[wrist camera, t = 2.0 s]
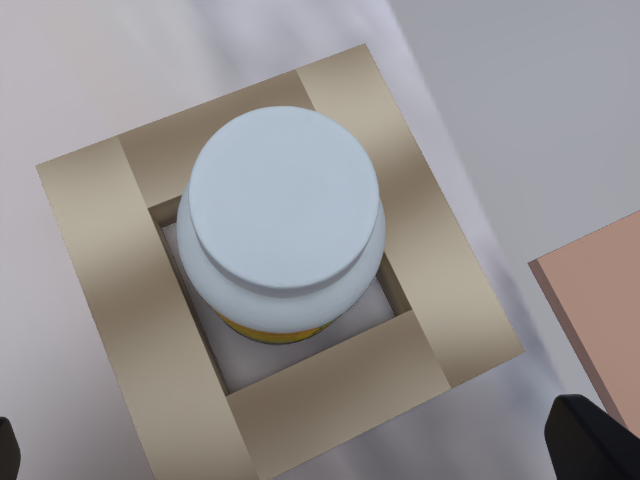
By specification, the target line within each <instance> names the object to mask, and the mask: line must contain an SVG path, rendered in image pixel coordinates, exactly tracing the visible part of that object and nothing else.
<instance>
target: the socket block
mask: <svg viewBox="0 0 640 480" xmlns="http://www.w3.org/2000/svg"><path fill="white" fill-rule="evenodd" d="M274 106H294V107H300V108H305V109H309V110H313V111H315V112H318V113H321V114H323V115H325V116H327V117H329V118H331V119H333V120H334V121H336V122H338V123H339V124H340V125H342V126H343V127H344V128H346V129H347V130H348V131H349V132H350V133H351V134H352V135H353V136H354V137H355V138H356V139H357V140H358V141H359V142H360V144H361V145H362V146H363V148H364V149H365V151H366V152H367V154H368V156H369V157H370V160H371V162H372V164H373V167H374V170H375V172H376V176H377V181H378V186H379V196H380V199H381V202H382V205H383V210H384V214H385V223H386V238H385V247H384V252H383V256H382V259H381V262H380V265H379V268H378V271H377V273H376V276H377V278H378V280H379V282H380V285H381V287H382V289H383V291H384V293H385V295H386V297H387V299H388V301H389V303H390V305H391V307H392V309H393V312H394V314H395V316H396V317H395V318H393V319H390V320H388V321H386V322H384V323H382V324H380V325H378V326H375V327H373V328H371V329H369V330H367V331H365V332H363V333H360V334H358V335H356V336H354V337H352V338H350V339H348V340H345V341H343V342H341V343H339V344H337V345H335V346H333V347H331V348H328V349H326V350H324V351H322V352H320V353H318V354H316V355H313V356H311V357H309V358H307V359H305V360H303V361H301V362H298V363H296V364H294V365H292V366H290V367H288V368H286V369H283V370H281V371H279V372H277V373H275V374H273V375H271V376H268V377H266V378H264V379H262V380H260V381H258V382H256V383H253V384H251V385H249V386H247V387H245V388H243V389H241V390H238V391H236V392H234V393H232V394H230V392H229V390H228V387H227V385H226V382H225V380H224V378H223V375H222V373H221V370H220V368H219V366H218V363H217V361H216V358H215V356H214V354H213V351H212V349H211V346H210V344H209V342H208V339H207V337H206V334H205V332H204V330H203V327H202V325H201V322H200V320H199V318H198V315H197V313H196V310H195V308H194V305H193V303H192V301H191V298H190V296H189V293H188V291H187V289H186V286H185V284H184V281H183V279H182V277H181V274H180V272H179V269H178V267H177V265H176V262H175V260H174V257H173V255H172V253H171V250H170V248H169V245H168V243H167V241H166V238H165V236H164V233H163V231H162V227H164V226H167V225H169V224H172V223H174V222H177V214H178V208H179V204H180V201H181V197H182V194H183V192H184V189H185V187H186V185H187V183H188V181H189V179H190V176H191V172H192V169H193V166H194V164H195V162H196V160H197V157H198V155H199V153H200V152H201V150H202V148H203V147H204V145H205V144H206V143H207V141H208V140H209V139H210V138H211V137H212V136H213V135H214V134H215V133H216V132H217V131H218V130H219V129H220V128H222V127H223V126H224V125H225V124H227V123H228V122H229V121H231V120H233V119H234V118H236V117H238V116H241V115H243V114H245V113H247V112H250V111H253V110H256V109H260V108H265V107H274ZM36 169H37V172H38V174H39V177H40V179H41V182H42V185H43V187H44V190H45V193H46V195H47V198H48V200H49V203H50V206H51V208H52V211H53V214H54V216H55V219H56V221H57V224H58V227H59V229H60V232H61V235H62V237H63V240H64V242H65V245H66V248H67V250H68V253H69V256H70V258H71V261H72V263H73V266H74V269H75V271H76V274H77V277H78V279H79V282H80V285H81V287H82V290H83V292H84V295H85V298H86V300H87V303H88V306H89V308H90V311H91V313H92V316H93V319H94V321H95V324H96V327H97V329H98V332H99V334H100V337H101V340H102V342H103V345H104V348H105V350H106V353H107V355H108V358H109V361H110V363H111V366H112V369H113V371H114V374H115V376H116V379H117V382H118V384H119V387H120V390H121V392H122V395H123V397H124V400H125V403H126V405H127V408H128V411H129V413H130V416H131V419H132V421H133V424H134V426H135V429H136V432H137V434H138V437H139V440H140V442H141V445H142V447H143V450H144V453H145V455H146V458H147V461H148V463H149V466H150V468H151V471H152V474H153V476H154V479H155V480H270V479H272V478H274V477H276V476H278V475H280V474H282V473H284V472H286V471H288V470H290V469H292V468H294V467H296V466H298V465H300V464H302V463H304V462H306V461H308V460H310V459H312V458H314V457H316V456H318V455H320V454H322V453H324V452H326V451H328V450H330V449H332V448H334V447H336V446H338V445H340V444H342V443H344V442H346V441H348V440H350V439H352V438H354V437H356V436H358V435H360V434H362V433H364V432H366V431H368V430H370V429H372V428H374V427H376V426H378V425H380V424H382V423H384V422H386V421H388V420H390V419H392V418H394V417H396V416H398V415H400V414H402V413H404V412H406V411H408V410H410V409H412V408H414V407H416V406H418V405H420V404H422V403H424V402H426V401H428V400H430V399H432V398H434V397H436V396H438V395H440V394H442V393H444V392H446V391H448V390H450V389H452V388H454V387H456V386H458V385H460V384H462V383H464V382H466V381H468V380H470V379H472V378H474V377H476V376H478V375H480V374H482V373H484V372H486V371H488V370H490V369H492V368H494V367H496V366H498V365H500V364H502V363H504V362H506V361H508V360H510V359H512V358H514V357H516V356H518V355H520V354H522V353H524V352H525V351H524V349H523V347H522V345H521V343H520V341H519V339H518V337H517V336H516V334H515V332H514V330H513V328H512V326H511V324H510V322H509V320H508V318H507V316H506V314H505V312H504V310H503V308H502V307H501V305H500V303H499V301H498V299H497V297H496V295H495V293H494V291H493V289H492V287H491V285H490V283H489V281H488V280H487V278H486V276H485V274H484V272H483V270H482V268H481V266H480V264H479V262H478V260H477V258H476V256H475V254H474V252H473V251H472V249H471V247H470V245H469V243H468V241H467V239H466V237H465V235H464V233H463V231H462V229H461V227H460V225H459V224H458V222H457V220H456V218H455V216H454V214H453V212H452V210H451V208H450V206H449V204H448V202H447V200H446V198H445V196H444V195H443V193H442V191H441V189H440V187H439V185H438V183H437V181H436V179H435V177H434V175H433V173H432V171H431V169H430V168H429V166H428V164H427V162H426V160H425V158H424V156H423V154H422V152H421V150H420V148H419V146H418V144H417V142H416V140H415V139H414V137H413V135H412V133H411V131H410V129H409V127H408V125H407V123H406V121H405V119H404V117H403V115H402V113H401V111H400V110H399V108H398V106H397V104H396V102H395V100H394V98H393V96H392V94H391V92H390V90H389V88H388V86H387V84H386V83H385V81H384V79H383V77H382V75H381V73H380V71H379V69H378V67H377V65H376V63H375V61H374V59H373V57H372V55H371V54H370V52H369V50H368V48H367V46H366V44H362V45H359V46H357V47H354V48H351V49H348V50H346V51H343V52H340V53H338V54H335V55H332V56H330V57H327V58H324V59H322V60H319V61H316V62H313V63H311V64H308V65H305V66H303V67H300V68H297V69H295V70H292V71H289V72H287V73H284V74H281V75H278V76H276V77H273V78H270V79H268V80H265V81H262V82H260V83H257V84H254V85H251V86H249V87H246V88H243V89H241V90H238V91H235V92H233V93H230V94H227V95H225V96H222V97H219V98H216V99H214V100H211V101H208V102H206V103H203V104H200V105H198V106H195V107H192V108H190V109H187V110H184V111H181V112H179V113H176V114H173V115H171V116H168V117H165V118H163V119H160V120H157V121H155V122H152V123H149V124H146V125H144V126H141V127H138V128H136V129H133V130H130V131H128V132H125V133H122V134H119V135H117V136H114V137H111V138H109V139H106V140H103V141H101V142H98V143H95V144H93V145H90V146H87V147H84V148H82V149H79V150H76V151H74V152H71V153H68V154H66V155H63V156H60V157H58V158H55V159H52V160H49V161H47V162H44V163H41V164H39V165H36Z"/></svg>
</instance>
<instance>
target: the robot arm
mask: <svg viewBox="0 0 640 480" xmlns="http://www.w3.org/2000/svg"><path fill="white" fill-rule="evenodd" d="M544 435H545V441H546V444H547V448H548V451H549V454H550V457H551V461H552V464H553V467H554V471H555V474H556V477H557V480H640V438H638V437H637V436H636V435H634V434H633V433H632V432H630V431H629V430H628V429H627V428H625V427H624V426H623V425H621V424H620V423H619V422H617V421H616V420H615V419H614V418H612V417H611V416H610V415H608V414H607V413H606V412H604V411H603V410H602V409H601V408H599V407H598V406H597V405H595V404H594V403H593V402H591V401H590V400H589V399H587V398H586V397H584V396H583V395H579V394H568V395H558V396H557V397H556V398H555V400H554V402H553V405H552V408H551V411H550V413H549V416H548V419H547V422H546V425H545V430H544ZM20 460H21V454H20V448H19V445H18V443H17V440H16V437H15V434H14V432H13V429H12V426H11V423H10V421H9V420H8V419H7V418H6V417H0V480H16V479H17V475H18V471H19V467H20Z"/></svg>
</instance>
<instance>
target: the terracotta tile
mask: <svg viewBox="0 0 640 480" xmlns="http://www.w3.org/2000/svg"><path fill="white" fill-rule="evenodd" d="M528 265H529V267H530V269H531V270H532V272H533V274H534V276H535V278H536V280H537V282H538V284H539V285H540V287H541V289H542V291H543V293H544V295H545V297H546V299H547V300H548V302H549V304H550V306H551V308H552V310H553V312H554V314H555V315H556V317H557V319H558V321H559V323H560V325H561V327H562V328H563V330H564V332H565V334H566V336H567V338H568V339H569V341H570V343H571V345H572V347H573V349H574V351H575V353H576V355H577V357H578V358H579V360H580V362H581V364H582V366H583V368H584V370H585V372H586V373H587V375H588V377H589V379H590V381H591V383H592V385H593V387H594V388H595V390H596V392H597V394H598V396H599V398H600V400H601V401H602V403H603V405H604V407H605V409H606V411H607V413H608V415H610V416H611V417H612V418H614V419H615V420H616V421H617V422H619V423H620V424H621V425H623V426H624V427H625V428H627V429H628V430H629V431H630V432H632V433H633V434H634V435H636V436H637V437H638V438H640V210H639V211H637V212H635V213H633V214H631V215H629V216H627V217H625V218H623V219H620V220H618V221H616V222H614V223H612V224H610V225H608V226H606V227H604V228H601V229H599V230H597V231H595V232H593V233H590V234H588V235H586V236H584V237H582V238H580V239H578V240H576V241H573V242H572V243H569V244H567V245H565V246H563V247H561V248H559V249H556V250H554V251H552V252H550V253H548V254H546V255H544V256H542V257H540V258H537V259H535V260H533V261H531V262H529V263H528Z"/></svg>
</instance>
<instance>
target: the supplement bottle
mask: <svg viewBox="0 0 640 480" xmlns="http://www.w3.org/2000/svg"><path fill="white" fill-rule="evenodd" d="M176 234H177V244H178V250H179V254H180V258H181V261H182V264H183V267H184V269H185V271H186V274H187V276H188V277H189V279H190V281H191V283H192V284H193V286H194V288H195V289H196V290H197V292H198V293H199V294H200V295H201V297H202V298H203V299H204V300H205V301H206V302H207V303H208V304H209V306H210V307H212V308H213V310H214V311H215V312H216V313H217V314H218V315H219V316H220V317H221V318H222V319H223V320H224V322H225V323H226V324H227V325H228V326H229V327H231V328H232V329H233V330H235V331H236V332H237V333H239V334H241V335H243V336H245V337H247V338H249V339H251V340H254V341H257V342H261V343H265V344H274V345H277V344H290V343H294V342H298V341H301V340H304V339H307V338H309V337H311V336H313V335H316V334H317V333H319V332H321V331H322V330H324V329H325V328H326V327H328V326H329V325H330V324H331V323H332V322H333V321H335V320H336V319H337V318H338V317H340V316H341V315H342V314H344V313H345V312H346V311H347V310H348V309H350V308H351V307H352V306H353V305H354V304H355V303H356V302H357V301H358V300H359V299H360V297H361V296H362V295H363V294H364V292H365V291H366V290H367V288H368V287H369V285H370V284H371V282H372V280H373V279H374V277H375V275H376V273H377V271H378V268H379V265H380V262H381V259H382V256H383V252H384V247H385V238H386V223H385V214H384V210H383V205H382V202H381V199H380V196H379V186H378V181H377V176H376V172H375V170H374V167H373V164H372V162H371V160H370V157H369V156H368V154H367V152H366V151H365V149H364V148H363V146H362V145H361V144H360V142H359V141H358V140H357V139H356V138H355V137H354V136H353V135H352V134H351V133H350V132H349V131H348V130H347V129H346V128H344V127H343V126H342V125H340V124H339V123H338V122H336V121H334V120H333V119H331V118H329V117H327V116H325V115H323V114H321V113H318V112H315V111H313V110H309V109H305V108H300V107H294V106H274V107H265V108H260V109H256V110H253V111H250V112H247V113H245V114H243V115H241V116H238V117H236V118H234V119H233V120H231V121H229V122H228V123H227V124H225V125H224V126H223V127H222V128H220V129H219V130H218V131H217V132H216V133H215V134H214V135H213V136H212V137H211V138H210V139H209V140H208V141H207V143H206V144H205V145H204V147H203V148H202V150H201V152H200V153H199V155H198V157H197V160H196V162H195V164H194V166H193V169H192V172H191V176H190V179H189V181H188V183H187V185H186V187H185V189H184V192H183V194H182V197H181V201H180V204H179V208H178V214H177V223H176Z"/></svg>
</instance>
